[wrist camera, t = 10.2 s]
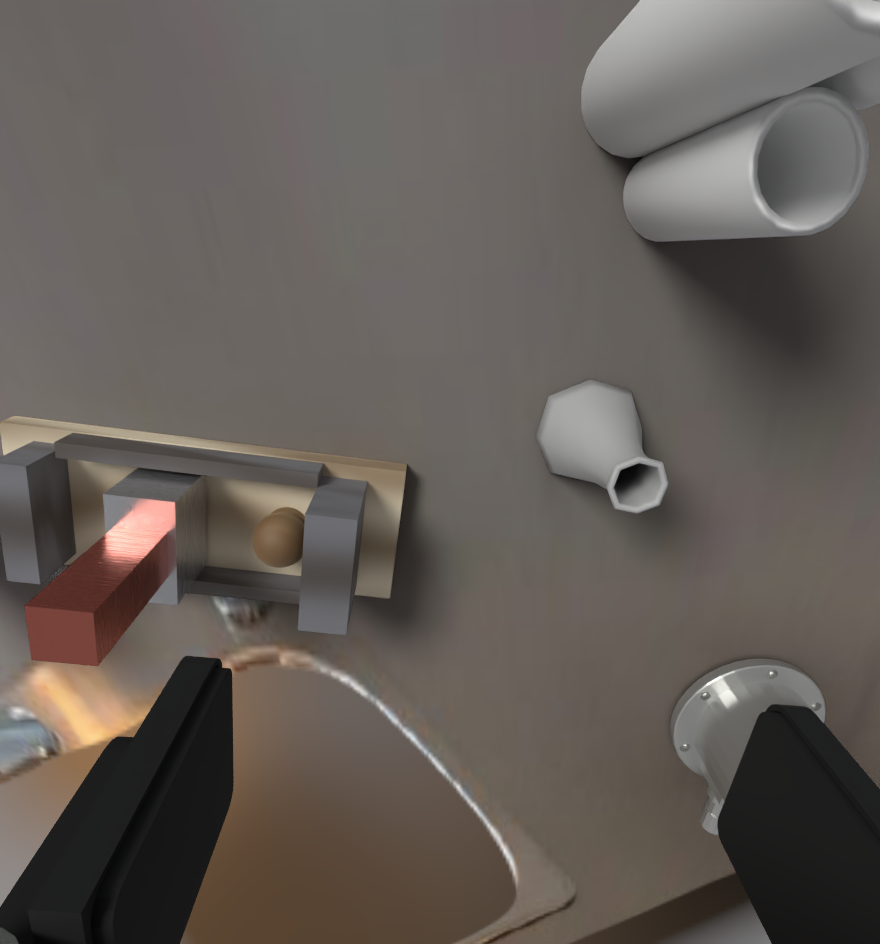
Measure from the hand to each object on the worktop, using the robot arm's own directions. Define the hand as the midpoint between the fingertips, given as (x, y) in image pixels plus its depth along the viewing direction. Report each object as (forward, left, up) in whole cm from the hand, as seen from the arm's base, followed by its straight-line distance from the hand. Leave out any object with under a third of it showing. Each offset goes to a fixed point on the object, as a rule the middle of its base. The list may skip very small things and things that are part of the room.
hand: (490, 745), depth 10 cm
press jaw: (-11, +17, -28) cm, 34 cm away
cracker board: (-11, +15, -30) cm, 35 cm away
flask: (-2, -10, -30) cm, 32 cm away
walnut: (-11, +9, -28) cm, 32 cm away
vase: (+16, -10, -30) cm, 35 cm away
